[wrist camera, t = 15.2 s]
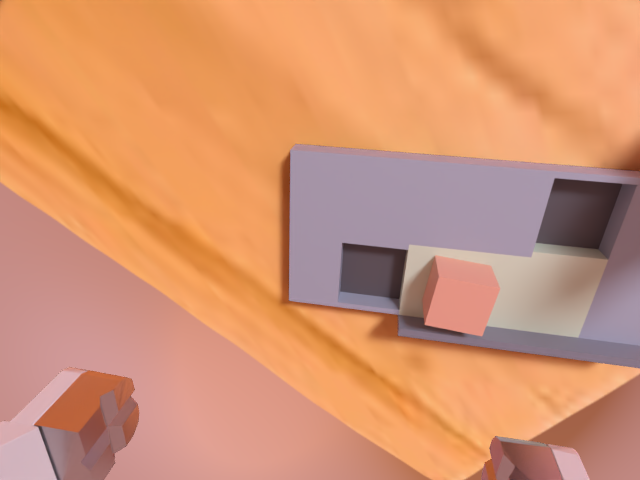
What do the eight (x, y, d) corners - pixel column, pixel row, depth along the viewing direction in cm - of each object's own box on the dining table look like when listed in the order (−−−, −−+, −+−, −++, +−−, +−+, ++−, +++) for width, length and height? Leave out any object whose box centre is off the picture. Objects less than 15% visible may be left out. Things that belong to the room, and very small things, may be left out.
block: (422, 300, 37) (424, 324, 33) (435, 255, 35) (438, 276, 31) (474, 310, 36) (482, 336, 33) (491, 265, 34) (500, 288, 31)
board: (293, 295, 41) (283, 320, 37) (295, 143, 34) (284, 156, 31) (627, 337, 37) (652, 369, 34) (700, 176, 31) (740, 194, 27)
